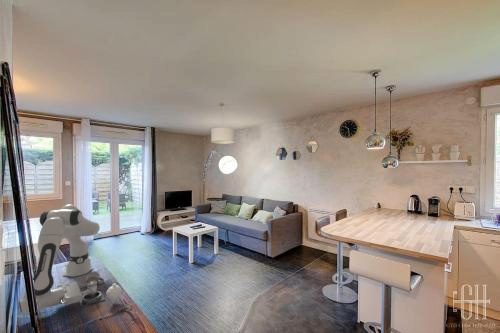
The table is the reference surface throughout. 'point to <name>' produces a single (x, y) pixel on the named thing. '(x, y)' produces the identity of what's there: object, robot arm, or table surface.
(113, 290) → the spinning top
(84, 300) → the duct flange
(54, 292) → the robot arm
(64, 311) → the table surface
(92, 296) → the lidded canister
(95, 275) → the ceramic mug
